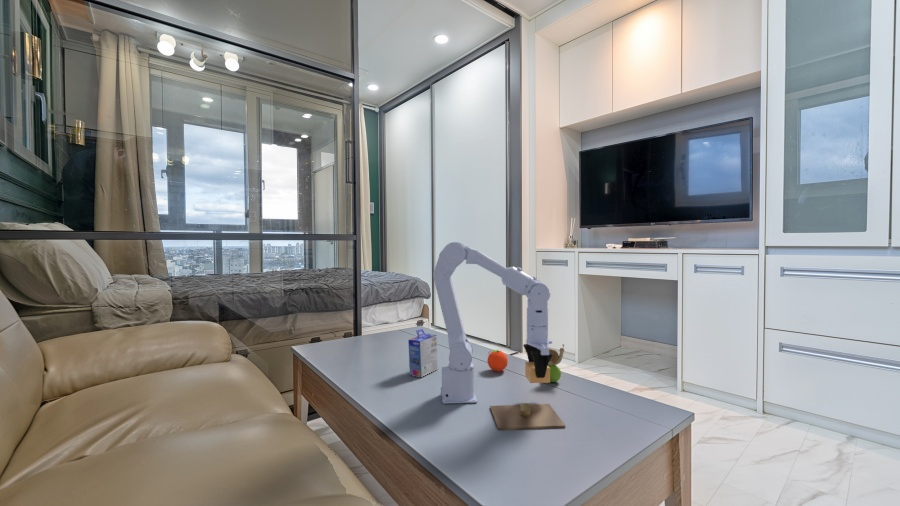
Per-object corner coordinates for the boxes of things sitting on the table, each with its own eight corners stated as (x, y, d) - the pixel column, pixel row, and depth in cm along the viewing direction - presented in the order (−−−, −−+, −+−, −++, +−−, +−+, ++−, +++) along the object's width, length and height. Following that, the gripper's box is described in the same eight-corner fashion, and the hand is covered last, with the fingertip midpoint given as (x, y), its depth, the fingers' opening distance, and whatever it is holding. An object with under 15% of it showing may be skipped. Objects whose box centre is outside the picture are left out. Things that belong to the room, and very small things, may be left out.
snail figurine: (565, 385, 115) (565, 346, 115) (543, 384, 117) (543, 345, 116) (563, 379, 121) (563, 342, 120) (542, 378, 122) (542, 341, 122)
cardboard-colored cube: (530, 383, 102) (530, 368, 102) (525, 376, 108) (525, 362, 107) (550, 382, 102) (550, 368, 102) (543, 375, 108) (543, 361, 108)
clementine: (481, 370, 130) (480, 349, 130) (494, 365, 135) (494, 345, 135) (498, 375, 124) (498, 354, 124) (512, 371, 129) (511, 350, 129)
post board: (498, 430, 88) (498, 417, 88) (490, 407, 100) (490, 396, 100) (565, 427, 89) (565, 415, 89) (549, 405, 101) (549, 394, 101)
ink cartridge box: (425, 367, 134) (425, 326, 134) (438, 369, 131) (438, 328, 131) (408, 375, 126) (407, 332, 125) (421, 378, 123) (421, 334, 122)
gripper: (560, 330, 98) (560, 382, 98) (543, 319, 112) (543, 364, 112) (533, 331, 97) (533, 383, 98) (520, 319, 112) (520, 365, 112)
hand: (537, 373), depth 105 cm, fingers closed on cardboard-colored cube, 5 cm apart
